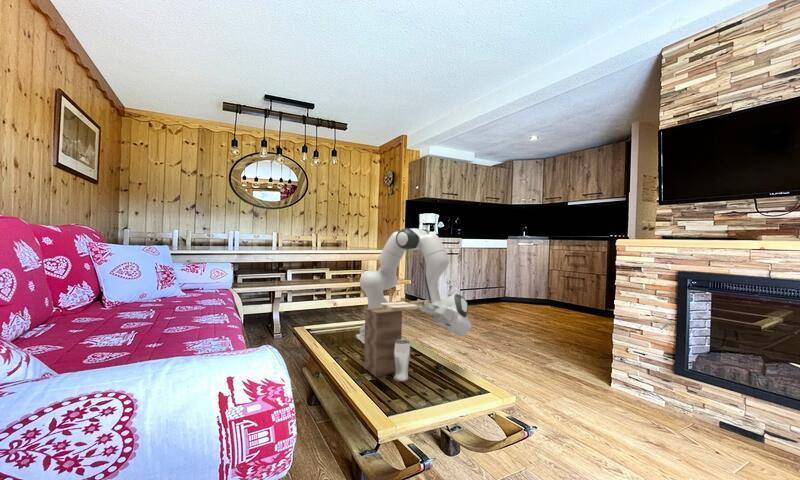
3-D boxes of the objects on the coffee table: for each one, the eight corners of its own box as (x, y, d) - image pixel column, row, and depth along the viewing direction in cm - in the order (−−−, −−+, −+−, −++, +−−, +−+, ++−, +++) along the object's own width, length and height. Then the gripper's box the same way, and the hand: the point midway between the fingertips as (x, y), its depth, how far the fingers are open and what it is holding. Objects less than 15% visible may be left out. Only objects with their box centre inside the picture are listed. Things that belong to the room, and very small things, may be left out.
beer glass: (409, 375, 141) (411, 339, 141) (408, 382, 134) (409, 344, 134) (393, 374, 142) (394, 338, 142) (391, 381, 135) (392, 343, 135)
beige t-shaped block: (380, 306, 139) (380, 302, 139) (421, 302, 150) (421, 298, 150) (394, 311, 130) (394, 306, 130) (437, 306, 141) (437, 302, 141)
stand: (363, 367, 149) (365, 308, 149) (387, 363, 155) (389, 306, 155) (375, 376, 139) (377, 313, 139) (400, 371, 146) (402, 310, 146)
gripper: (431, 304, 159) (410, 291, 153) (461, 313, 142) (439, 298, 136) (425, 317, 158) (404, 304, 151) (455, 327, 140) (432, 313, 134)
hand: (421, 301), depth 143 cm, fingers closed on beige t-shaped block, 3 cm apart
